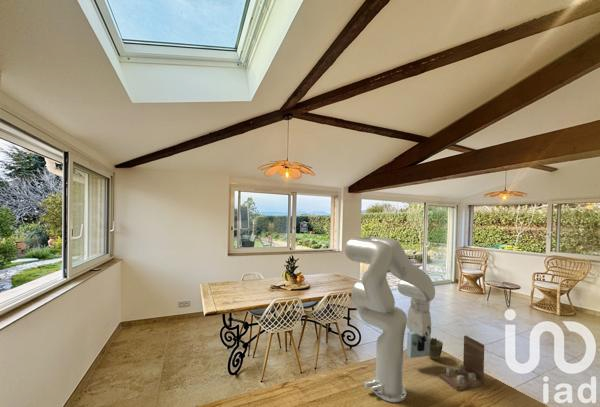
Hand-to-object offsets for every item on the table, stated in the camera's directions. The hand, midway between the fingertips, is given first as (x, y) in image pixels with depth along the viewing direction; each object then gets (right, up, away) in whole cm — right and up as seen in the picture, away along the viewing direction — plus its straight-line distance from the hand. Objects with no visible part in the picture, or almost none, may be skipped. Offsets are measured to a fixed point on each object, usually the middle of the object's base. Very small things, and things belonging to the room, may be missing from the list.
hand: (418, 348), depth 116 cm
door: (0, -3, 0) cm, 3 cm away
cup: (+10, -8, +7) cm, 15 cm away
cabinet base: (+13, -8, -9) cm, 18 cm away
